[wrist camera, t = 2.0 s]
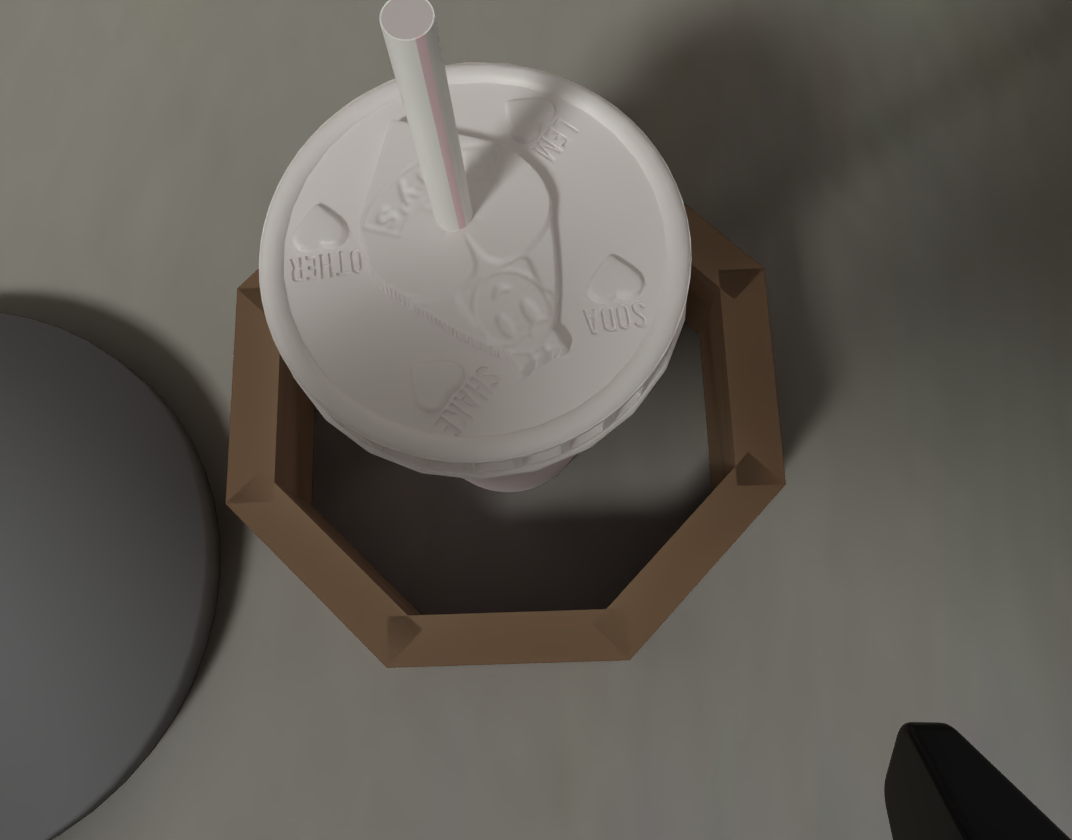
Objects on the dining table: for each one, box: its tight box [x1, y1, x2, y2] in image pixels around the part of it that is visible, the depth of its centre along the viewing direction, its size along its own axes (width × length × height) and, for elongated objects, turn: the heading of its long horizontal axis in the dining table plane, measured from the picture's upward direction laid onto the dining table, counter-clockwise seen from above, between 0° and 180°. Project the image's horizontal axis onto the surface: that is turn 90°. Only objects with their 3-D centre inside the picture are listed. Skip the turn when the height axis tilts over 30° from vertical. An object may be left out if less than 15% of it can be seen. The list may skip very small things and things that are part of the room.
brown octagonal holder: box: [226, 204, 786, 668], centre depth 21 cm, size 12×12×3 cm
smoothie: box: [259, 0, 692, 492], centre depth 16 cm, size 6×6×14 cm
